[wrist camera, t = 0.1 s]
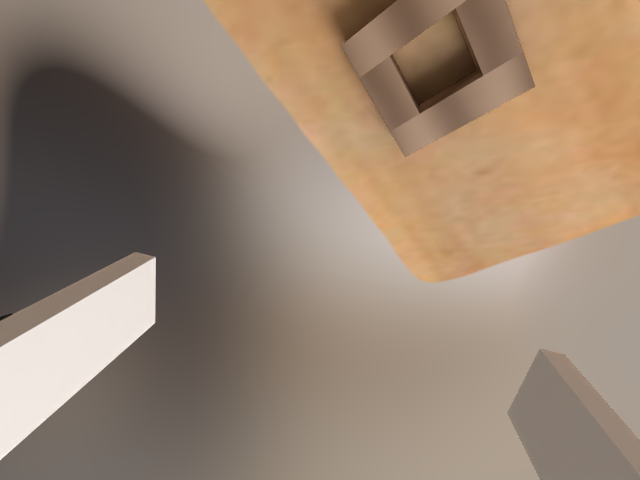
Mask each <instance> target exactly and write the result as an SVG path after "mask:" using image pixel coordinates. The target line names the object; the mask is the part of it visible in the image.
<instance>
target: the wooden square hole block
mask: <svg viewBox="0 0 640 480" xmlns="http://www.w3.org/2000/svg"><path fill="white" fill-rule="evenodd" d="M451 11H453V14H454V16H455V18H456V21H457V23H458V25H459V28H460V30H461V33H462V35H463V37H464V40H465V42H466V45H467V47H468V49H469V52H470V54H471V57H472V59H473V61H474V64H475V66H476V68H477V70H475V71H473V72H472V73H470V74H469V75H467V76H465V77H464V78H462V79H460V80H459V81H457V82H456V83H454V84H452V85H451V86H449V87H447V88H446V89H444V90H443V91H441V92H439V93H438V94H436V95H434V96H433V97H431V98H429V99H428V100H426V101H425V102H423V103H421V104H420V105H418V103H417V101H416V100H415V98H414V96H413V94H412V92H411V90H410V88H409V86H408V84H407V82H406V80H405V78H404V76H403V75H402V73H401V71H400V69H399V67H398V65H397V63H396V61H395V59H394V57H393V55H392V54H393V53H395V52H396V51H397V50H399V49H400V48H401V47H403V46H404V45H406V44H407V43H408V42H410V41H411V40H412V39H414V38H415V37H417V36H418V35H419V34H421V33H422V32H423V31H425V30H426V29H428V28H429V27H430V26H432V25H433V24H434V23H436V22H437V21H439V20H440V19H441V18H443V17H444V16H446V15H447V14H448V13H450V12H451ZM341 48H342V49H343V51H344V53H345V54H346V56H347V58H348V60H349V61H350V63H351V65H352V66H353V68H354V70H355V72H356V73H357V75H358V77H359V79H360V80H361V82H362V84H363V85H364V87H365V89H366V91H367V92H368V94H369V96H370V97H371V99H372V101H373V103H374V104H375V106H376V108H377V110H378V111H379V113H380V115H381V116H382V118H383V120H384V122H385V123H386V125H387V127H388V128H389V130H390V132H391V134H392V135H393V137H394V139H395V141H396V142H397V144H398V146H399V147H400V149H401V151H402V153H403V154H404V156H405V157H406V156H408V155H410V154H412V153H414V152H416V151H417V150H419V149H421V148H423V147H425V146H427V145H428V144H430V143H432V142H434V141H436V140H438V139H440V138H441V137H443V136H445V135H447V134H449V133H451V132H452V131H454V130H456V129H458V128H460V127H462V126H464V125H465V124H467V123H469V122H471V121H473V120H475V119H476V118H478V117H480V116H482V115H484V114H486V113H488V112H489V111H491V110H493V109H495V108H497V107H499V106H500V105H502V104H504V103H506V102H508V101H510V100H511V99H513V98H515V97H517V96H519V95H521V94H523V93H524V92H526V91H528V90H530V89H532V88H534V87H535V84H534V81H533V78H532V76H531V73H530V70H529V67H528V64H527V61H526V58H525V56H524V53H523V50H522V47H521V44H520V41H519V38H518V36H517V33H516V30H515V27H514V24H513V21H512V18H511V16H510V13H509V10H508V7H507V4H506V1H505V0H397V1H396V2H394V3H393V4H392V5H391V6H389V7H388V8H387V9H386V10H384V11H383V12H382V13H381V14H379V15H378V16H377V17H376V18H375V19H373V20H372V21H371V22H370V23H368V24H367V25H366V26H365V27H363V28H362V29H361V30H360V31H358V32H357V33H356V34H355V35H354V36H352V37H351V38H350V39H349V40H347V41H346V42H345V43H344V44H342V45H341Z"/></svg>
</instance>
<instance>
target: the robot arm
mask: <svg viewBox="0 0 640 480" xmlns="http://www.w3.org/2000/svg"><path fill="white" fill-rule="evenodd" d="M155 269H156V257H153V256H149V255H145V254H141V253H137V252H135V253H133V254H131V255H129V256H127V257H125V258H123V259H121V260H119V261H117V262H115V263H113V264H111V265H109V266H107V267H105V268H104V269H101V270H100V271H97V272H95V273H94V274H92V275H90V276H88V277H86V278H84V279H82V280H80V281H78V282H76V283H74V284H72V285H70V286H68V287H66V288H64V289H62V290H60V291H58V292H56V293H54V294H52V295H50V296H48V297H46V298H44V299H42V300H41V301H39V302H37V303H35V304H33V305H31V306H29V307H27V308H25V309H23V310H21V311H19V312H17V313H15V314H8V315H5V316H1V317H0V460H1V459H2V458H3V457H4V456H5V455H6V454H7V453H9V452H10V451H11V450H12V449H13V448H14V447H15V446H16V445H17V444H19V443H20V442H21V441H22V440H23V439H24V438H25V437H27V436H28V435H29V434H30V433H31V432H32V431H33V430H35V428H37V427H38V426H39V425H40V424H41V423H42V422H44V421H45V420H46V419H47V418H48V417H49V416H50V415H51V414H53V413H54V412H55V411H56V410H57V409H58V408H59V407H61V406H62V405H63V404H64V403H65V402H66V401H67V400H68V399H69V398H71V397H72V396H73V395H74V394H75V393H76V392H77V391H79V390H80V389H81V388H82V387H83V386H84V385H85V384H87V383H88V382H89V381H90V380H91V379H92V378H93V377H94V376H95V375H97V374H98V373H99V372H100V371H101V370H102V369H103V368H105V367H106V366H107V365H108V364H109V363H110V362H111V361H112V360H114V359H115V358H116V357H117V356H118V355H119V354H120V353H122V351H124V350H125V349H126V348H127V347H128V346H129V345H131V344H132V343H133V342H134V341H135V340H136V339H137V338H139V337H140V336H141V335H142V334H143V333H144V332H145V331H146V330H148V329H149V328H150V327H151V326H152V325H153V324H154V323H155V275H156V270H155ZM508 415H509V417H510V420H511V422H512V424H513V426H514V428H515V430H516V432H517V434H518V436H519V438H520V440H521V442H522V444H523V446H524V448H525V450H526V452H527V454H528V456H529V458H530V460H531V462H532V464H533V466H534V468H535V470H536V473H537V474H538V477H539V479H540V480H640V440H639V439H638V438H637V436H636V435H635V434H634V433H633V432H632V431H631V430H630V428H628V426H627V425H626V424H625V423H624V422H623V420H621V418H620V417H619V416H618V415H617V414H616V413H615V411H614V410H613V409H612V408H611V407H610V406H609V405H608V403H607V402H606V401H605V400H604V399H603V398H602V397H601V396H600V394H599V393H598V392H597V391H596V390H595V389H594V388H593V386H592V385H591V384H590V383H589V382H588V381H587V380H586V378H585V377H584V376H583V375H582V374H581V373H580V372H579V371H578V370H577V368H576V367H575V366H574V365H573V364H572V363H571V361H570V360H569V359H568V358H567V357H566V356H565V355H564V354H560V353H556V352H552V351H548V350H544V349H539V351H538V353H537V355H536V357H535V359H534V361H533V363H532V365H531V367H530V369H529V371H528V373H527V375H526V377H525V379H524V381H523V383H522V385H521V387H520V389H519V391H518V393H517V395H516V397H515V399H514V401H513V403H512V404H511V406H510V408H509V410H508Z"/></svg>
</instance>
